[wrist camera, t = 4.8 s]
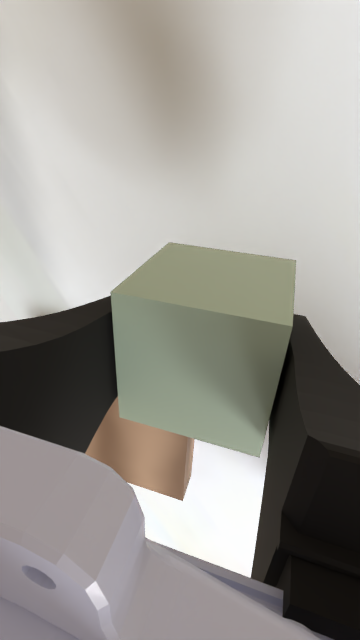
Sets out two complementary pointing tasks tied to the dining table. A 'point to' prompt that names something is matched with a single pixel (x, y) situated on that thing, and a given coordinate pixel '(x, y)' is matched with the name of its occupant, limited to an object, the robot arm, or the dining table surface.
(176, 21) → the dining table surface
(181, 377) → the sage cube
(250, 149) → the dining table surface
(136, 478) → the light brown block
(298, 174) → the dining table surface
